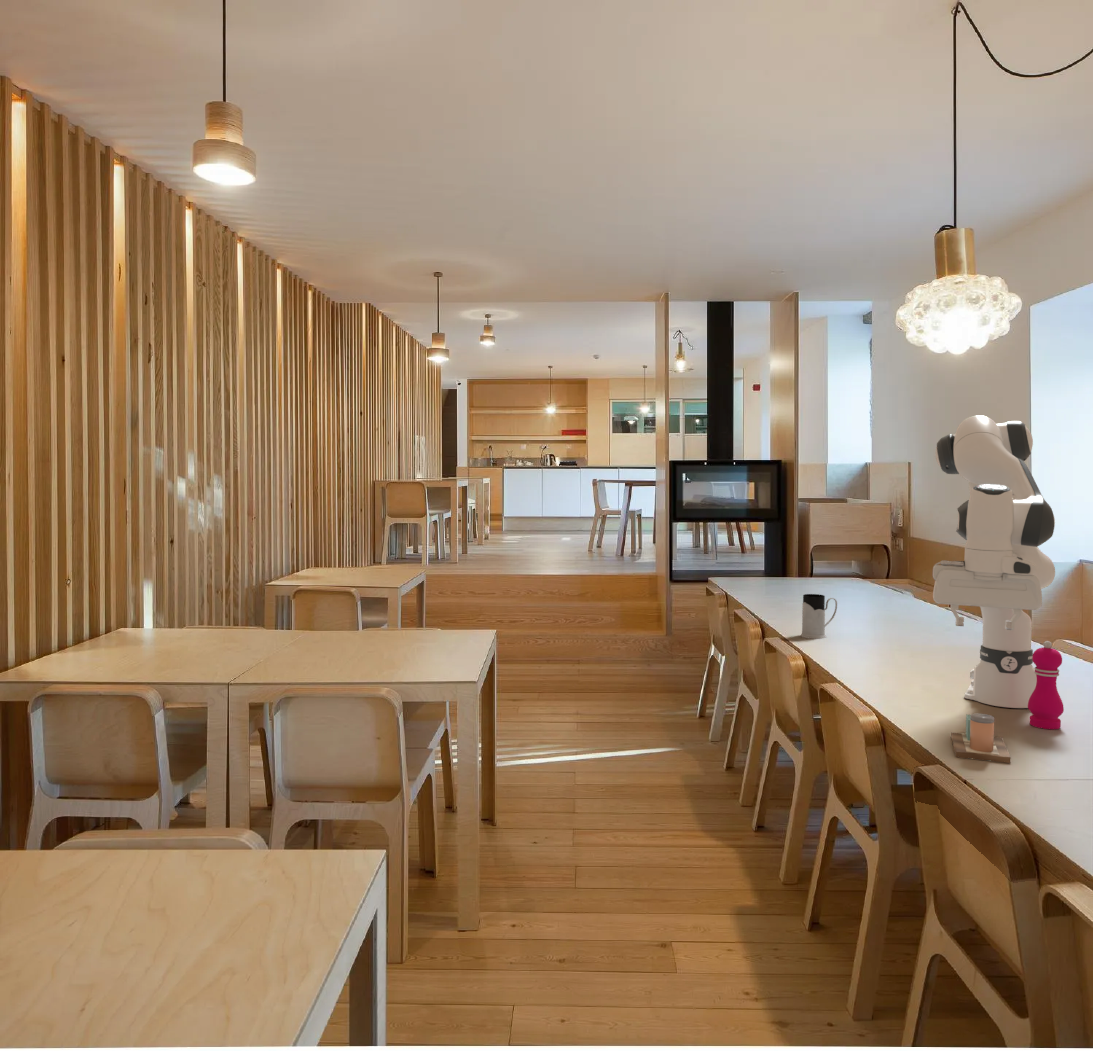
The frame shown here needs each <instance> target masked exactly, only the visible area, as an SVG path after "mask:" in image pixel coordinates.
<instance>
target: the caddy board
mask: <svg viewBox="0 0 1093 1051" xmlns="http://www.w3.org/2000/svg"><path fill="white" fill-rule="evenodd" d="M950 739H951V742H952V747H953V750H954V754H955V758H960V759H968V758H973V759H972V760H977V759H978V760H979V761H986V760H991V761H990V762H996V763H1006V764H1011V761H1012V760H1011V755H1010V753H1009V750H1008V748H1007V746H1006V743H1005V742H1004V739H1003V737H1000V736H994V746H993V751H991V752H981V751H976V750H973V749H971V748H970V741H968V740H967V737H966V732H965V733H963V732H962V733H960V732H951V733H950Z"/></svg>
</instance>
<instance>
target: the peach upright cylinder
mask: <svg viewBox="0 0 1093 1051" xmlns="http://www.w3.org/2000/svg"><path fill="white" fill-rule="evenodd" d="M970 715H971V716H970V748H971V749H973V750H976V751H981V752H991V751H993V746H994V737H995V717H994V716H993V715H990V714H986V713H977V712H976V713H971V714H970Z"/></svg>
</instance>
